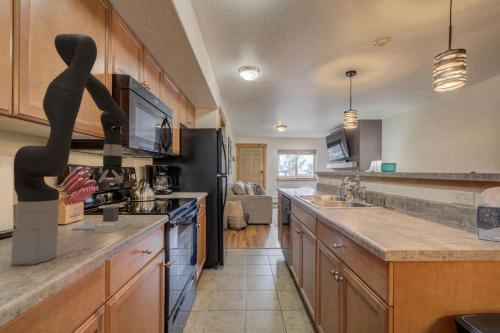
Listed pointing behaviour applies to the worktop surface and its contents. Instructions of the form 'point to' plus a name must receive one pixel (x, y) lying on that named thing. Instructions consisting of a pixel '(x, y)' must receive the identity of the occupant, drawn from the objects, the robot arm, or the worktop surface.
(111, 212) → the charger
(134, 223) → the worktop surface
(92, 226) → the trivet
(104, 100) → the robot arm
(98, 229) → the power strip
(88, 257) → the worktop surface
